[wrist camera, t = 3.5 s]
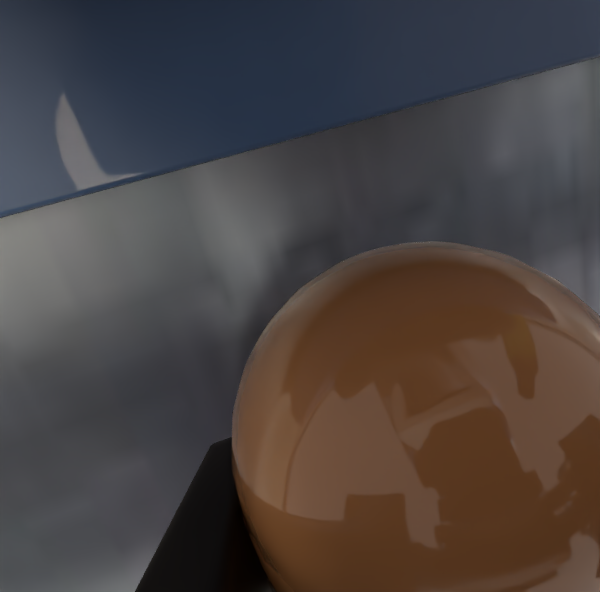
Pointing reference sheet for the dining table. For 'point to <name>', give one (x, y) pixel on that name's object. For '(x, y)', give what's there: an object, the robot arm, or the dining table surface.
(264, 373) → the egg
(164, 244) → the dining table surface
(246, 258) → the dining table surface
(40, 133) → the brush
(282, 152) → the dining table surface
